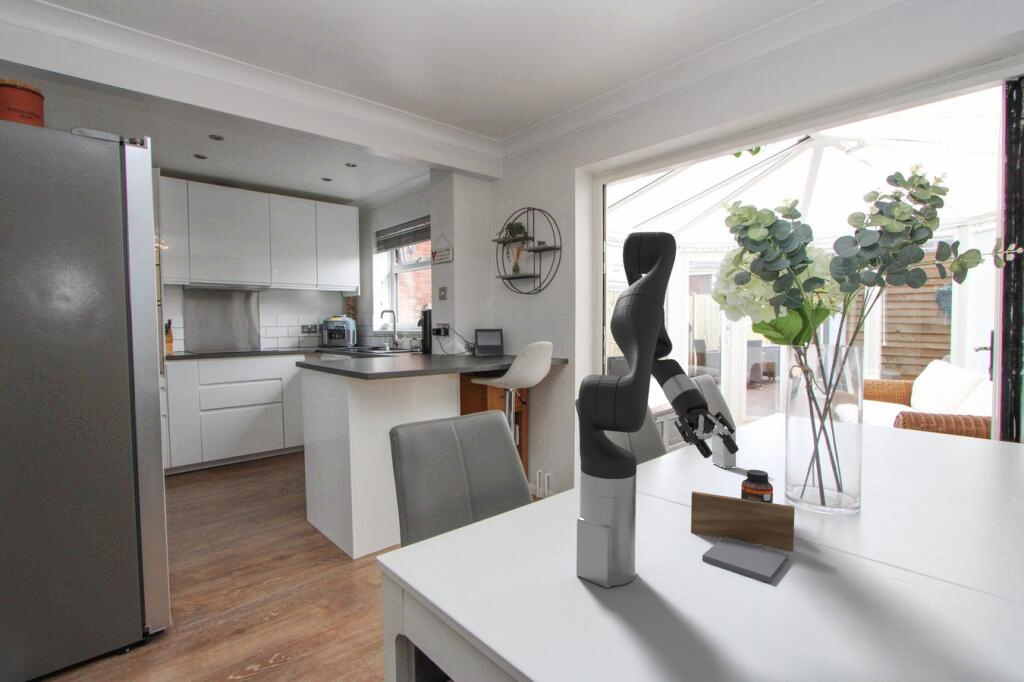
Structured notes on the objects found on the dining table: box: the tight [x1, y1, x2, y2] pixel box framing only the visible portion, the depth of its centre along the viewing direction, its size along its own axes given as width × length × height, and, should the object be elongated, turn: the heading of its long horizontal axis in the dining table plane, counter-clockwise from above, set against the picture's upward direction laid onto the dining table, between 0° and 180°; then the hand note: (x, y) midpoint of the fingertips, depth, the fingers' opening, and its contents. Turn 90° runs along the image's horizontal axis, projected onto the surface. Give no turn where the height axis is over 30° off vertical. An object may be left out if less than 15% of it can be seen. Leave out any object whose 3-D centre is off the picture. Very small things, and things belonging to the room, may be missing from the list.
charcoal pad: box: [702, 536, 789, 584], centre depth 86 cm, size 11×11×1 cm
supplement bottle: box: [740, 469, 774, 503], centre depth 102 cm, size 6×6×11 cm
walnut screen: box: [690, 491, 796, 552], centre depth 94 cm, size 1×18×8 cm, turn 64°
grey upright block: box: [711, 426, 737, 469], centre depth 145 cm, size 6×4×12 cm
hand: (722, 454), depth 109 cm, fingers open, 8 cm apart
